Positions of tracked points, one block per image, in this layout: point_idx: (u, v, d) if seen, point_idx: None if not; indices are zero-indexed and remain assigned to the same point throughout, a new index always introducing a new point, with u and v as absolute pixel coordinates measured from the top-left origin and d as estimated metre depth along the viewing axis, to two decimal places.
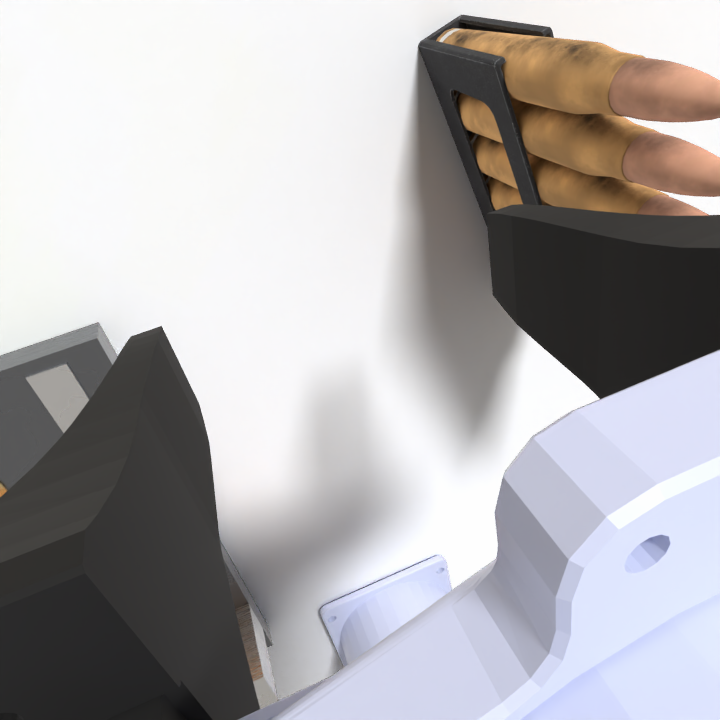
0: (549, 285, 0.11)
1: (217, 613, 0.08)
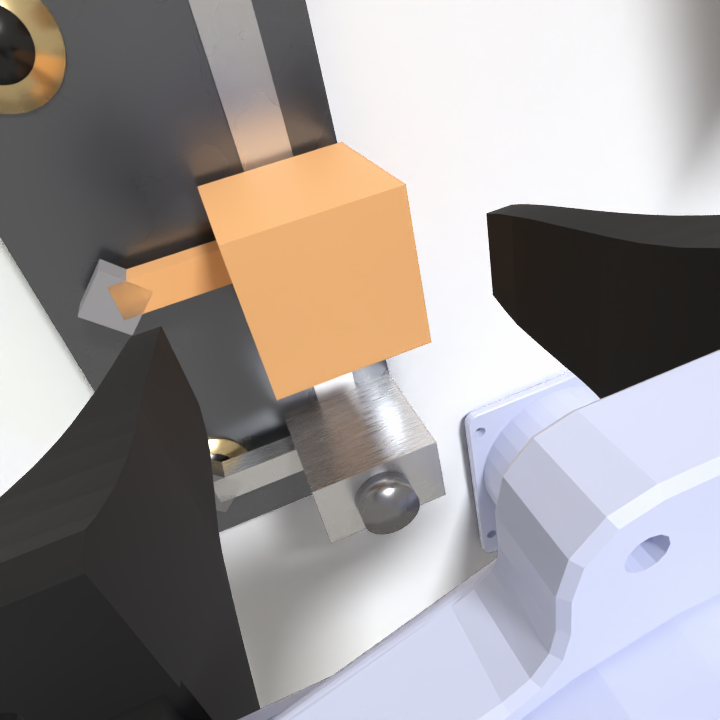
0: (549, 285, 0.11)
1: (217, 613, 0.08)
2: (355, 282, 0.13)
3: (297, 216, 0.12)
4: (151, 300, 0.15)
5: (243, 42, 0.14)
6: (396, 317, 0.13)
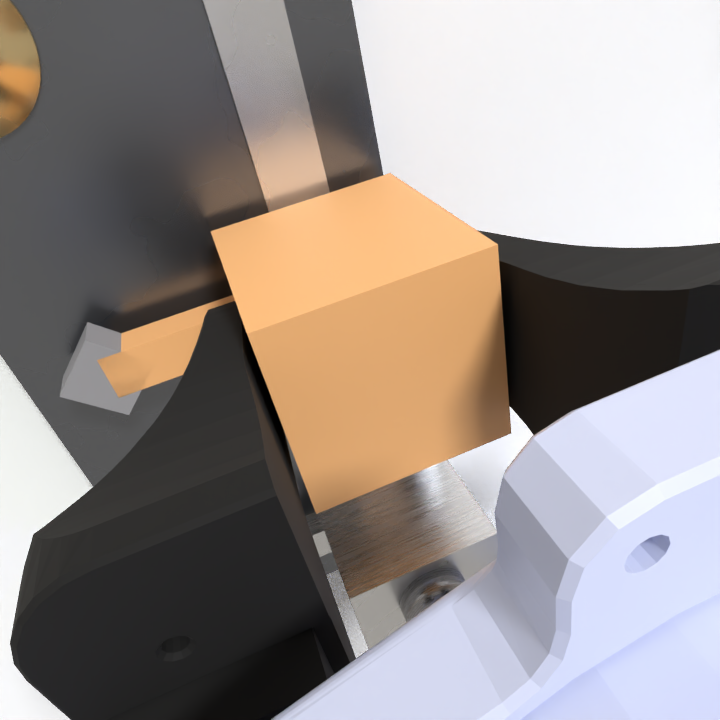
0: None
1: (320, 568, 0.08)
2: (424, 369, 0.10)
3: (353, 288, 0.09)
4: (152, 373, 0.12)
5: (271, 49, 0.11)
6: (471, 407, 0.10)
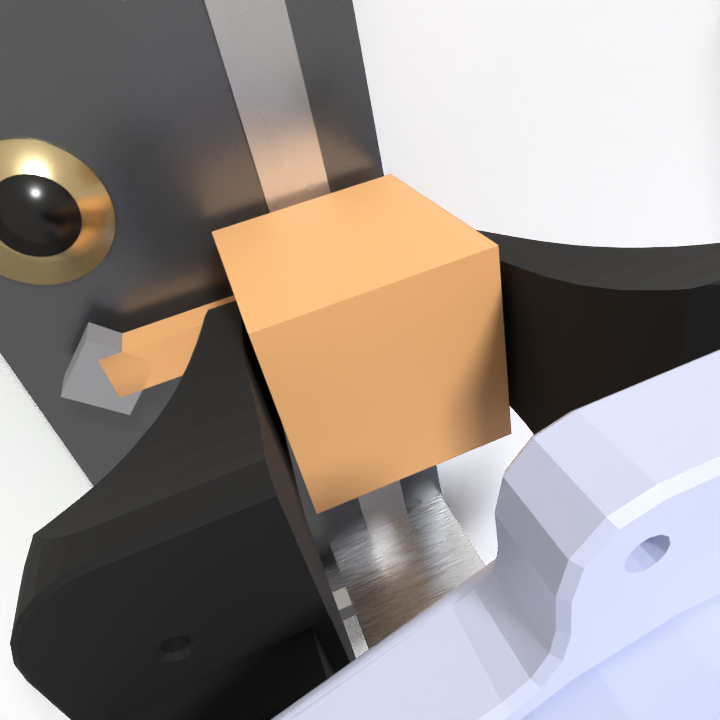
0: None
1: (320, 568, 0.08)
2: (425, 369, 0.10)
3: (354, 289, 0.09)
4: (153, 373, 0.12)
5: (309, 194, 0.12)
6: (471, 407, 0.10)
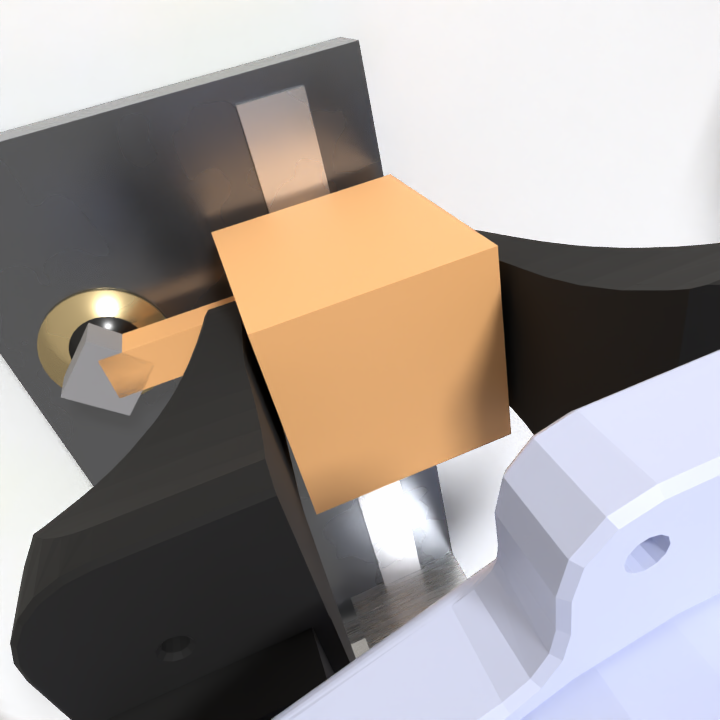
0: None
1: (320, 568, 0.08)
2: (424, 370, 0.10)
3: (353, 289, 0.09)
4: (153, 374, 0.12)
5: None
6: (471, 408, 0.10)
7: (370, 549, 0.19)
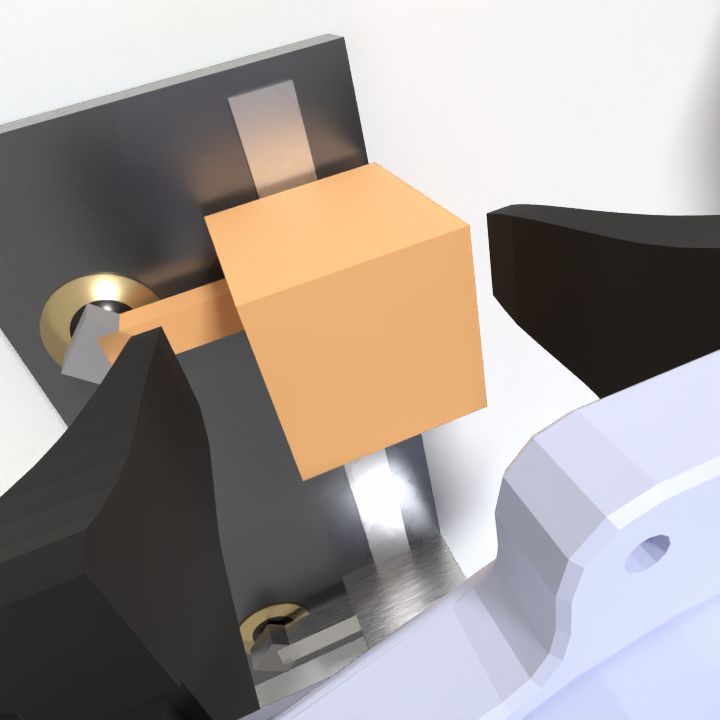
0: (549, 285, 0.11)
1: (217, 613, 0.08)
2: (403, 343, 0.10)
3: (334, 266, 0.09)
4: None
5: None
6: (448, 380, 0.11)
7: (360, 529, 0.20)
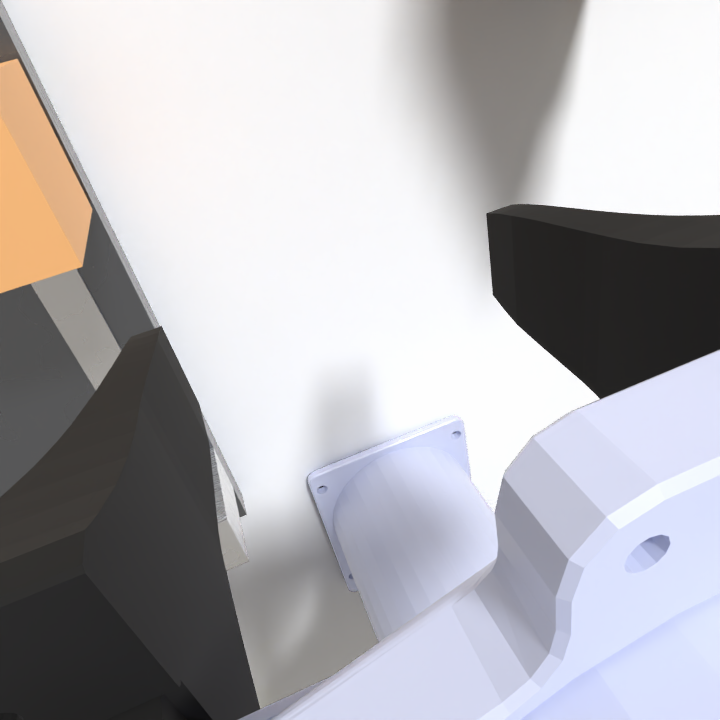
0: (549, 285, 0.11)
1: (217, 613, 0.08)
2: None
3: None
4: None
5: None
6: (25, 235, 0.12)
7: None
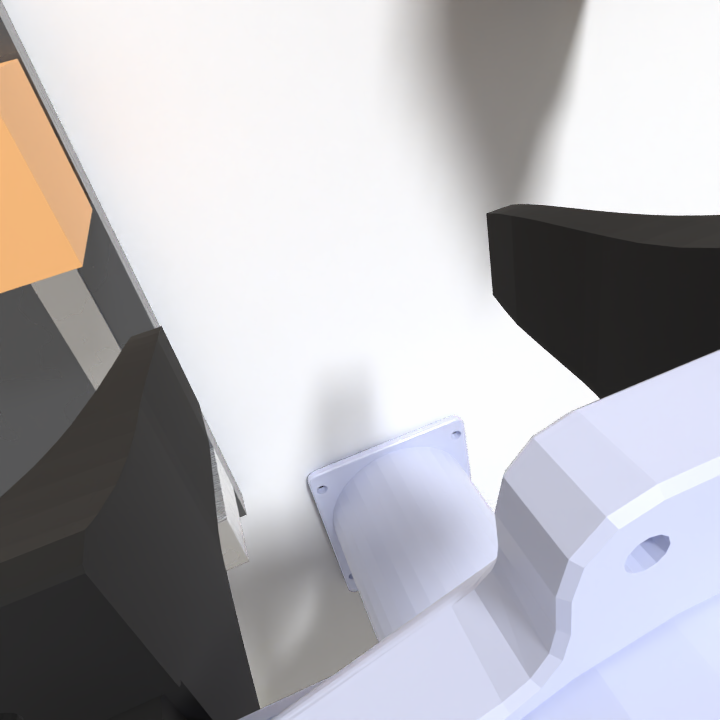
0: (549, 285, 0.11)
1: (217, 613, 0.08)
2: None
3: None
4: None
5: None
6: (25, 235, 0.12)
7: None
